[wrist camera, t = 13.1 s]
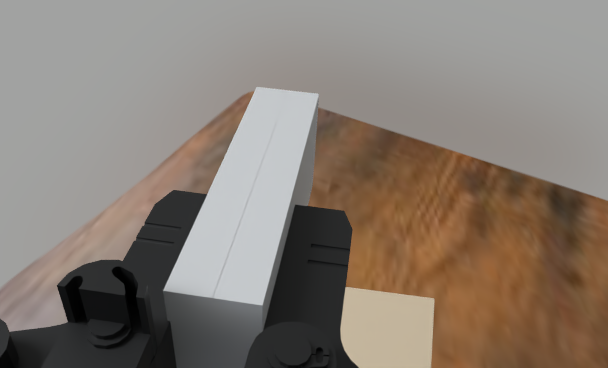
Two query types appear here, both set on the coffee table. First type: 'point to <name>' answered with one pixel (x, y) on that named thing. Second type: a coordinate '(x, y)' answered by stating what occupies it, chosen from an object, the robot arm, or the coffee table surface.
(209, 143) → the coffee table surface
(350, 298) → the front flap
